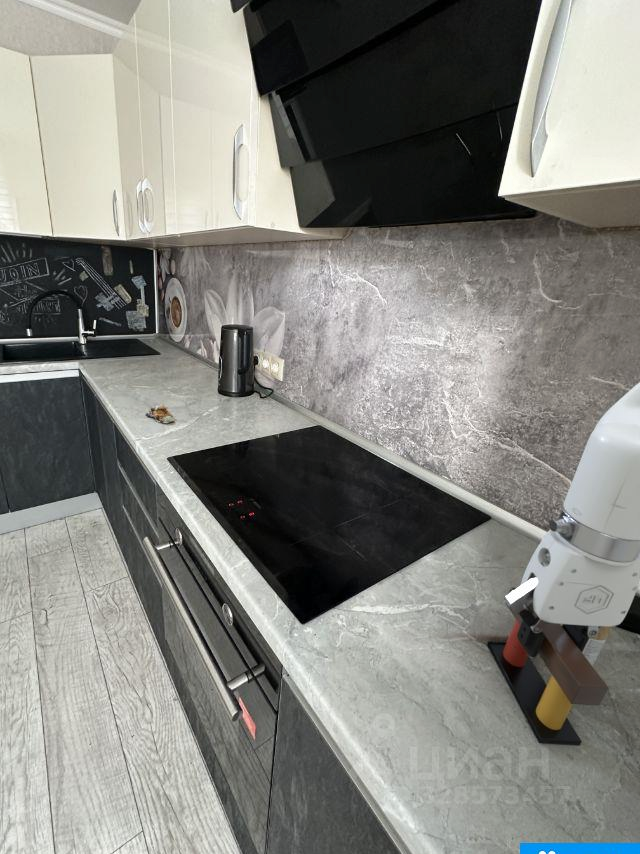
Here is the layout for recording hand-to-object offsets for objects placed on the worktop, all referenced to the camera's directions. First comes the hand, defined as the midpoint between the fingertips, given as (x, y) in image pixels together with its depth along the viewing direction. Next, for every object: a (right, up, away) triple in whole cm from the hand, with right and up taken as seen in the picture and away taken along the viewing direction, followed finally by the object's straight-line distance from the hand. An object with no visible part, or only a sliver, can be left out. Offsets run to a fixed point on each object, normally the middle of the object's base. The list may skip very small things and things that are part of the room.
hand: (546, 647), depth 50 cm
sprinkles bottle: (+7, -7, +6) cm, 12 cm away
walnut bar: (0, 0, 0) cm, 0 cm away
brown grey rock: (-75, +29, +84) cm, 117 cm away
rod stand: (-1, -8, +3) cm, 8 cm away
